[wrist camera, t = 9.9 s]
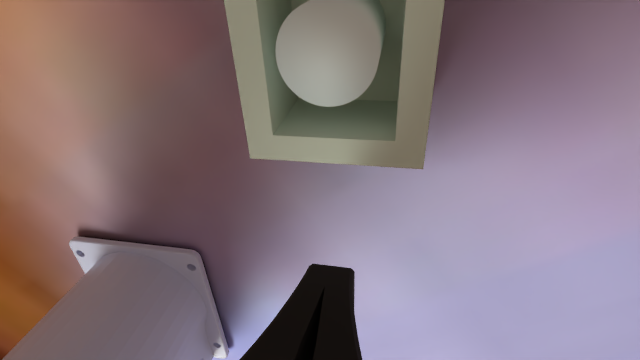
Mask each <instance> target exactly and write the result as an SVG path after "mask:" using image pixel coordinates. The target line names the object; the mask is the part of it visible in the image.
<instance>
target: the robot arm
mask: <svg viewBox="0 0 640 360" xmlns="http://www.w3.org/2000/svg"><path fill="white" fill-rule="evenodd" d="M69 244H70V247H71V249H72V251H73V252H74V254H75V256H76V258H77V260H78V262H79V263H80V265H81V267H82V269H83V271H84V272H85V275H84V276H83V277H82V278H81V279H80V280H79V281H78V282H77V283H76V284H75V285H74V286H73V287H72V288H71V289H70V290H69V291H68V292H67V293H66V294H65V295H64V296H63V297H62V298H61V299H60V300H59V302H58V303H57V304H56V305H55V306H54V307H53V308H52V309H51V310H50V311H49V312H48V313H47V314H46V315H45V316H44V317H43V318H42V319H41V320H40V321H39V322H38V323H37V324H36V325H35V326H34V327H33V328H32V329H31V330H30V331H29V332H28V333H27V334H26V335H25V337H24V338H23V339H22V340H21V341H20V342H19V343H18V344H17V345H16V346H15V347H14V348H13V349H12V350H11V351H10V352H9V353H8V354H7V355H6V356H5V357H4V358H3V359H2V360H212V358H213V357H216V358H226V357H227V356H228V354H229V349H228V345H227V342H226V339H225V335H224V332H223V329H222V325H221V322H220V319H219V315H218V312H217V309H216V305H215V302H214V299H213V295H212V292H211V289H210V285H209V282H208V279H207V275H206V272H205V268H204V265H203V262H202V258H201V256H200V254H199V253H198V252H196V251H195V250H191V249H183V248H174V247H166V246H157V245H148V244H140V243H131V242H122V241H113V240H105V239H96V238H87V237H78V236H77V237H74V238H73V239H72V240H71V241H70V242H69ZM240 360H362V356H361V351H360V347H359V341H358V336H357V329H356V322H355V315H354V271H353V270H352V269H351V268H344V267H336V266H327V265H319V264H312V265H310V266H309V268H308V269H307V271H306V273H305V275H304V276H303V278H302V280H301V281H300V283H299V284H298V286H297V287H296V289H295V290H294V292H293V293H292V295H291V296H290V298H289V299H288V301H287V302H286V303H285V305H284V306H283V307H282V309H281V310H280V311H279V313H278V314H277V316H276V317H275V318H274V320H273V321H272V322H271V323H270V325H269V326H268V327H267V328H266V329H265V331H264V332H263V333H262V334H261V336H260V337H259V338H258V339H257V340H256V342H255V343H254V344H253V345H252V346H251V347H250V349H249V350H248V351H247V352H246V353H245V354H244V355H243V356H242V358H241V359H240Z"/></svg>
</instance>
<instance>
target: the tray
mask: <svg viewBox="0 0 640 360" xmlns="http://www.w3.org/2000/svg"><path fill="white" fill-rule="evenodd" d="M444 2H445V0H224V4H225V10H226V16H227V22H228V28H229V34H230V40H231V46H232V52H233V58H234V64H235V70H236V76H237V82H238V88H239V94H240V100H241V106H242V112H243V118H244V124H245V130H246V137H247V143H248V149H249V155H250V158H251V159H267V160H284V161H300V162H316V163H332V164H348V165H364V166H381V167H397V168H413V169H423V166H424V158H425V150H426V143H427V135H428V127H429V119H430V111H431V103H432V96H433V88H434V80H435V72H436V64H437V57H438V49H439V41H440V33H441V25H442V18H443V10H444Z"/></svg>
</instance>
